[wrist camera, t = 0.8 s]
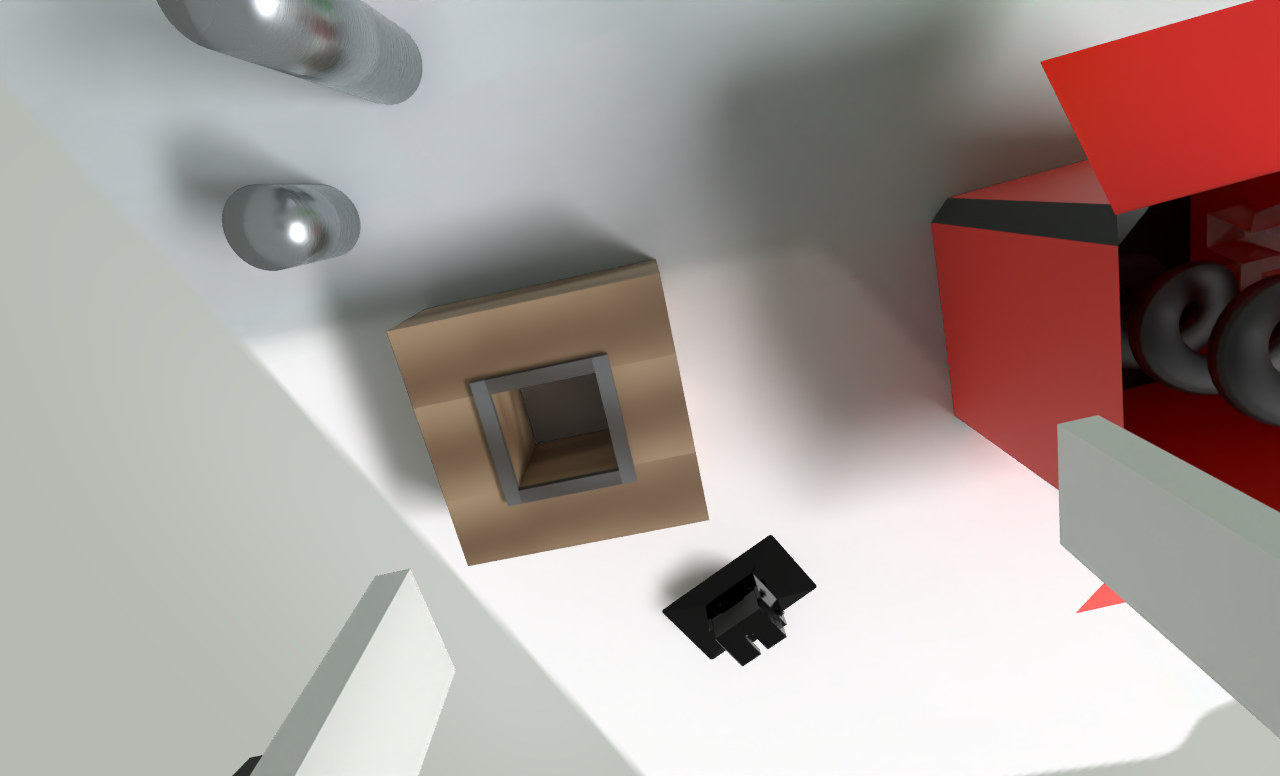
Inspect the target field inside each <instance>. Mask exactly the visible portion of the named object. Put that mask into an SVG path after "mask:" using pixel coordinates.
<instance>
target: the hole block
mask: <svg viewBox="0 0 1280 776" xmlns="http://www.w3.org/2000/svg"><path fill="white" fill-rule="evenodd" d="M387 334H388V337H389V340H390V343H391V346H392V348H393V351H394V354H395V357H396V360H397V363H398V366H399V369H400V371H401V374H402V377H403V380H404V383H405V386H406V389H407V392H408V394H409V397H410V400H411V403H412V406H413V409H414V412H415V415H416V417H417V420H418V423H419V426H420V429H421V432H422V435H423V438H424V440H425V443H426V446H427V449H428V452H429V455H430V458H431V461H432V464H433V466H434V469H435V472H436V475H437V478H438V481H439V484H440V487H441V489H442V492H443V495H444V498H445V501H446V504H447V507H448V510H449V512H450V515H451V518H452V521H453V524H454V527H455V530H456V533H457V535H458V538H459V541H460V544H461V547H462V550H463V553H464V556H465V558H466V561H467V564H468V566H471V565H476V564H482V563H487V562H492V561H497V560H503V559H508V558H513V557H518V556H523V555H529V554H534V553H539V552H544V551H550V550H555V549H560V548H565V547H570V546H576V545H581V544H586V543H591V542H597V541H602V540H607V539H612V538H617V537H623V536H628V535H633V534H638V533H644V532H649V531H654V530H659V529H664V528H670V527H675V526H680V525H685V524H691V523H696V522H701V521H706V520H709V516H708V511H707V506H706V501H705V497H704V492H703V487H702V482H701V477H700V472H699V467H698V462H697V457H696V452H695V447H694V442H693V437H692V432H691V427H690V422H689V417H688V412H687V407H686V402H685V397H684V392H683V387H682V382H681V377H680V372H679V367H678V362H677V357H676V353H675V348H674V343H673V338H672V333H671V328H670V323H669V318H668V313H667V308H666V303H665V298H664V293H663V288H662V283H661V278H660V273H659V270H658V266H657V263H656V259H654V260H649V261H645V262H640V263H636V264H631V265H626V266H622V267H617V268H612V269H608V270H603V271H599V272H594V273H589V274H585V275H580V276H576V277H571V278H566V279H562V280H557V281H552V282H548V283H543V284H539V285H534V286H529V287H525V288H520V289H516V290H511V291H506V292H502V293H497V294H492V295H488V296H483V297H479V298H474V299H469V300H465V301H460V302H456V303H451V304H446V305H442V306H437V307H432V308H428V309H424V310H423V311H421V312H419V313H418V314H416V315H414V316H412V317H411V318H409V319H407V320H406V321H404V322H402V323H401V324H399V325H397V326H396V327H394V328H392V329H391V330H389V331H387ZM593 373H595V374H596V378H597V382H598V386H599V390H600V394H601V398H602V402H603V406H604V411H605V415H606V419H607V423H608V427H609V429H608V430H603V431H598V432H593V433H588V434H583V435H578V436H573V437H568V438H563V439H558V440H553V441H548V442H543V443H538V444H536V442H535V438H534V435H533V432H532V428H531V425H530V421H529V418H528V414H527V411H526V407H525V404H524V400H523V397H522V393H521V390H520V388H525V387H530V386H535V385H539V384H544V383H549V382H554V381H559V380H564V379H568V378H573V377H578V376H583V375H588V374H593Z"/></svg>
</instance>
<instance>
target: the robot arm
mask: <svg viewBox="0 0 1280 776" xmlns="http://www.w3.org/2000/svg"><path fill="white" fill-rule="evenodd" d="M1057 434H1058V474H1059V515H1060V544H1061V545H1062V546H1063V547H1064V548H1065V549H1067V550H1068V551H1069V552H1070V553H1071V554H1072V555H1073V556H1074V557H1076V558H1077V559H1078V560H1079V561H1080V562H1081V563H1082V564H1083V565H1085V566H1086V567H1087V568H1088V569H1089V570H1090V571H1091V572H1092V573H1094V574H1095V575H1096V576H1097V577H1098V578H1099V579H1100V580H1101V581H1103V582H1104V583H1105V584H1106V585H1107V586H1108V587H1109V588H1111V589H1112V590H1113V591H1114V592H1115V593H1116V594H1117V595H1118V596H1120V597H1121V598H1122V599H1123V600H1124V601H1125V602H1126V603H1127V604H1129V605H1130V606H1131V607H1132V608H1133V609H1134V610H1135V611H1136V612H1138V613H1139V614H1140V615H1141V616H1142V617H1143V618H1144V619H1145V620H1147V621H1148V622H1149V623H1150V624H1151V625H1152V626H1153V627H1154V628H1156V629H1157V630H1158V631H1159V632H1160V633H1161V634H1162V635H1163V636H1165V637H1166V638H1167V639H1168V640H1169V641H1170V642H1171V643H1173V644H1174V645H1175V646H1176V647H1177V648H1178V649H1179V650H1180V651H1182V652H1183V653H1184V654H1185V655H1186V656H1187V657H1188V658H1189V659H1191V660H1192V661H1193V662H1194V663H1195V664H1196V665H1197V666H1198V667H1200V668H1201V669H1202V670H1203V671H1204V672H1205V673H1206V674H1207V675H1209V676H1210V677H1211V678H1212V679H1213V680H1214V681H1215V682H1216V683H1218V684H1219V685H1220V686H1221V687H1222V688H1223V689H1224V690H1226V691H1227V692H1228V693H1229V694H1230V695H1231V696H1232V697H1233V698H1235V699H1236V700H1237V701H1238V702H1239V703H1240V704H1241V705H1243V706H1244V707H1245V708H1246V709H1247V710H1248V711H1249V712H1250V713H1251V714H1253V715H1254V716H1255V717H1256V718H1257V719H1258V720H1259V721H1261V722H1262V723H1263V724H1264V725H1265V726H1266V727H1267V728H1268V729H1270V730H1271V731H1272V732H1273V733H1274V734H1275V735H1276V736H1277V737H1279V738H1280V512H1278V511H1276V510H1274V509H1272V508H1271V507H1269V506H1267V505H1265V504H1263V503H1261V502H1259V501H1258V500H1256V499H1254V498H1252V497H1250V496H1248V495H1246V494H1244V493H1243V492H1241V491H1239V490H1237V489H1235V488H1233V487H1231V486H1230V485H1228V484H1226V483H1224V482H1222V481H1220V480H1218V479H1217V478H1215V477H1213V476H1211V475H1209V474H1207V473H1205V472H1203V471H1202V470H1200V469H1198V468H1196V467H1194V466H1192V465H1190V464H1189V463H1187V462H1185V461H1183V460H1181V459H1179V458H1177V457H1176V456H1174V455H1172V454H1170V453H1168V452H1166V451H1164V450H1162V449H1161V448H1159V447H1157V446H1155V445H1153V444H1151V443H1149V442H1148V441H1146V440H1144V439H1142V438H1140V437H1138V436H1136V435H1135V434H1133V433H1131V432H1129V431H1127V430H1125V429H1123V428H1121V427H1120V426H1118V425H1116V424H1114V423H1112V422H1110V421H1108V420H1107V419H1105V418H1103V417H1101V416H1099V415H1096V416H1092V417H1087V418H1083V419H1078V420H1074V421H1069V422H1065V423H1060V424H1057ZM454 673H455V668H454V666H453V664H452V661H451V659H450V657H449V655H448V652H447V650H446V648H445V646H444V643H443V641H442V639H441V637H440V634H439V632H438V630H437V628H436V625H435V623H434V621H433V619H432V617H431V614H430V612H429V610H428V608H427V605H426V603H425V601H424V599H423V596H422V594H421V592H420V590H419V588H418V585H417V583H416V581H415V578H414V576H413V574H412V572H411V569H406V570H402V571H397V572H393V573H388V574H384V575H379V576H375V578H374V580H373V581H372V583H371V584H370V586H369V587H368V589H367V590H366V592H365V594H364V595H363V597H362V598H361V600H360V602H359V603H358V605H357V606H356V608H355V609H354V611H353V613H352V614H351V616H350V618H349V619H348V621H347V622H346V624H345V626H344V627H343V629H342V630H341V632H340V633H339V635H338V637H337V638H336V640H335V642H334V643H333V644H332V646H331V648H330V649H329V651H328V652H327V654H326V656H325V657H324V659H323V660H322V662H321V664H320V665H319V667H318V668H317V670H316V671H315V673H314V675H313V676H312V678H311V680H310V681H309V683H308V684H307V686H306V687H305V689H304V690H303V692H302V694H301V695H300V697H299V698H298V700H297V702H296V703H295V705H294V706H293V708H292V709H291V711H290V713H289V714H288V716H287V718H286V720H285V721H284V722H283V724H282V725H281V727H280V729H279V730H278V732H277V733H276V735H275V736H274V738H273V740H272V741H271V743H270V744H269V746H268V748H267V749H266V751H265V752H264V754H263V755H261V756H257V757H252V758H249V760H247V762H245V763H244V765H243V766H242V767H241V768H240V769H239V770H238V771H237V772H236V773H235V774H234V775H233V776H418V775H419V772H420V770H421V767H422V764H423V761H424V758H425V755H426V753H427V749H428V747H429V744H430V741H431V738H432V735H433V733H434V730H435V727H436V724H437V721H438V718H439V716H440V713H441V710H442V707H443V704H444V702H445V699H446V696H447V693H448V690H449V687H450V685H451V682H452V679H453V676H454Z"/></svg>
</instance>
